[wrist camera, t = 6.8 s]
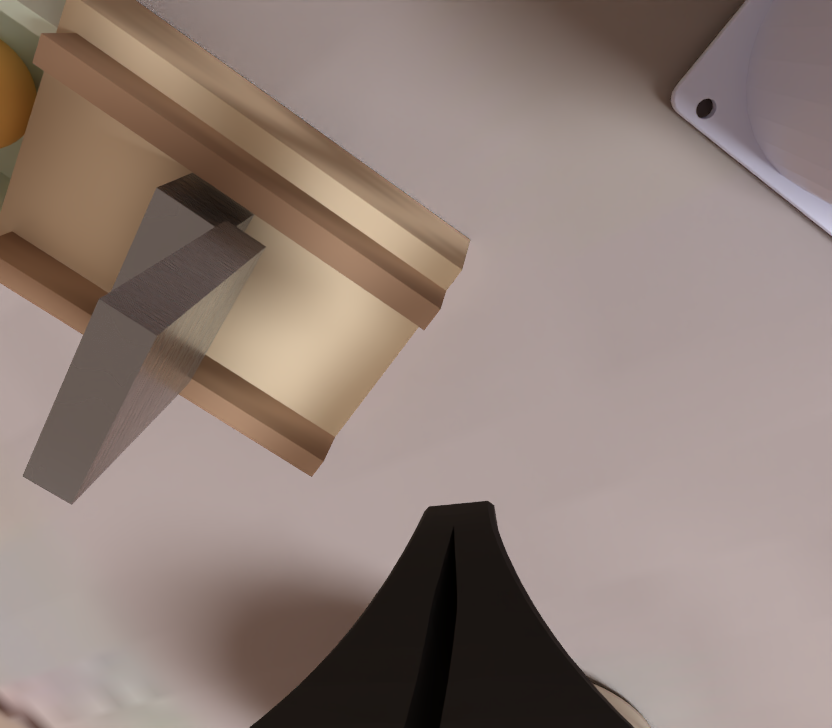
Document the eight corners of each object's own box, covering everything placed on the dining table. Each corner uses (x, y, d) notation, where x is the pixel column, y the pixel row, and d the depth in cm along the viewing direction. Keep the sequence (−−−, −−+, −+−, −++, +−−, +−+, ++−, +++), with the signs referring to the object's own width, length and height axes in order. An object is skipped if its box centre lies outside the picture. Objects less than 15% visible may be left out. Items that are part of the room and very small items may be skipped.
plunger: (287, 229, 18) (157, 335, 12) (214, 357, 21) (72, 504, 14) (195, 166, 18) (7, 241, 11) (131, 305, 20) (-54, 431, 14)
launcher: (470, 239, 21) (457, 287, 17) (335, 420, 25) (300, 491, 21) (132, -3, 19) (31, -12, 15) (46, 235, 23) (-50, 275, 19)
